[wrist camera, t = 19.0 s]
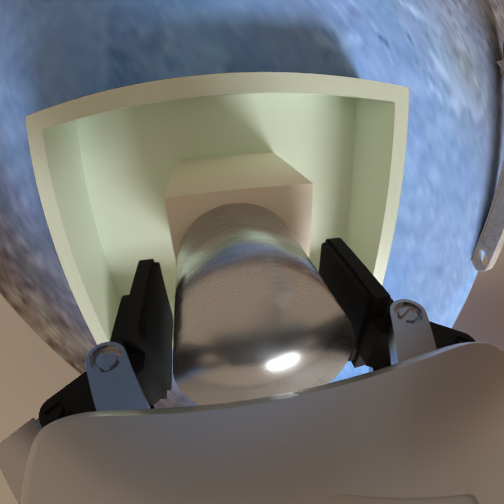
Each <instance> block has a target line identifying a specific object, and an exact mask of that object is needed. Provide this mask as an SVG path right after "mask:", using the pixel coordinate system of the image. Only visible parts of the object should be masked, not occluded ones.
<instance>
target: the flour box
mask: <svg viewBox="0 0 504 504" xmlns="http://www.w3.org/2000/svg"><path fill="white" fill-rule="evenodd" d="M164 199H165V205H166V211H167V217H168V223H169V228H170V234H171V239H172V245H173V250H174V255H175V260H176V265H177V257H178V250H179V245H180V242H181V240H182V238H183V236H184V234H185V232H186V231H187V229H188V228H189V227H190V225H191V224H192V223H193V222H194V221H195V220H196V219H198V218H199V217H200V216H201V215H203V214H204V213H206V212H208V211H210V210H212V209H214V208H216V207H219V206H223V205H227V204H233V203H247V204H254V205H258V206H261V207H264V208H266V209H268V210H270V211H272V212H273V213H275V214H276V215H277V216H279V217H280V218H281V219H282V220H283V221H284V222H285V224H286V225H287V227H288V228H289V229H290V231H291V232H292V234H293V235H294V237H295V238H296V240H297V241H298V243H299V244H300V245H301V247H302V248H303V250H304V251H305V253H306V254H307V256H308V257H309V254H310V239H311V221H312V200H313V183H312V182H311V181H309V180H308V179H307V178H306V177H304V176H303V175H302V174H301V173H299V172H298V171H297V170H296V169H294V168H293V167H292V166H291V165H289V164H288V163H287V162H285V161H284V160H283V159H281V158H280V157H279V156H278V155H276V154H275V153H274V152H270V153H253V154H240V155H228V156H218V157H208V158H199V159H191V160H183V161H177V163H176V166H175V168H174V171H173V174H172V177H171V180H170V183H169V186H168V189H167V192H166V195H165V198H164Z"/></svg>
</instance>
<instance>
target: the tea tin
mask: <svg viewBox="0 0 504 504" xmlns="http://www.w3.org/2000/svg"><path fill="white" fill-rule="evenodd" d="M353 344H354V332H353V328H352V325H351V323H350V321H349V319H348V317H347V316H346V314H345V313H344V311H343V309H342V308H341V306H340V305H339V303H338V302H337V300H336V299H335V297H334V295H333V294H332V292H331V291H330V289H329V288H328V286H327V285H326V283H325V282H324V280H323V278H322V277H321V275H320V274H319V272H318V271H317V269H316V268H315V266H314V265H313V263H312V262H311V260H310V259H309V257H308V256H307V254H306V253H305V251H304V250H303V248H302V247H301V245H300V244H299V243H298V241H297V240H296V238H295V237H294V235H293V234H292V232H291V231H290V229H289V228H288V227H287V225H286V224H285V222H284V221H283V220H282V219H281V218H280V217H279V216H277V215H276V214H275V213H273V212H272V211H270V210H268V209H266V208H264V207H261V206H258V205H254V204H247V203H233V204H227V205H223V206H219V207H216V208H214V209H212V210H210V211H208V212H206V213H204V214H203V215H201V216H200V217H199V218H198V219H196V220H195V221H194V222H193V223H192V224H191V225H190V227H189V228H188V229H187V231H186V232H185V234H184V236H183V238H182V240H181V242H180V245H179V250H178V257H177V271H176V287H175V305H174V331H173V374H174V378H175V381H176V383H177V385H178V387H179V388H180V390H181V391H182V392H183V393H184V394H185V395H186V396H187V397H188V398H189V399H191V400H192V401H194V402H195V403H197V404H199V405H210V404H219V403H228V402H235V401H242V400H249V399H255V398H261V397H267V396H273V395H278V394H284V393H289V392H294V391H298V390H303V389H308V388H312V387H316V386H321V385H325V384H329V383H330V382H331V381H332V380H333V379H334V378H335V377H336V376H337V375H338V374H339V372H340V371H341V370H342V369H343V367H344V366H345V364H346V363H347V361H348V359H349V357H350V355H351V352H352V349H353Z"/></svg>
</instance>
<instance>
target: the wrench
mask: <svg viewBox="0 0 504 504" xmlns="http://www.w3.org/2000/svg"><path fill="white" fill-rule="evenodd" d="M496 62H497V64H498V65H499V67H500V74H501V76H502V77H504V43H503V60H501V61H496ZM503 243H504V162H503V166H502V170H501V174H500V177H499V181H498V184H497V188H496V191H495V195H494V198H493V201H492V204H491V208H490V211H489V214H488V216H487V219H486V222H485V225H484V227H483V230H482V232H481V235H480V237H479V240H478V242H477V245H476V248H475V251H474V254H473V258H472V263H473V265H474V267H475V269H476V270H477V271H480V272H483V271H486V270H489V269H491V268H492V267H493V266H494V264H495V262H496V260H497V257H498V255H499V253H500V251H501V249H502V246H503ZM482 250H483V251H485V253H486V254H487V257H488V263H487V266H486V267H485V266H484V265H483V264H482V262H481V251H482Z"/></svg>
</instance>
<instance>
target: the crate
mask: <svg viewBox="0 0 504 504" xmlns="http://www.w3.org/2000/svg"><path fill="white" fill-rule="evenodd" d="M408 108H409V88H408V87H403V86H398V85H393V84H388V83H383V82H377V81H371V80H365V79H358V78H351V77H343V76H333V75H323V74H310V73H291V72H238V73H219V74H205V75H195V76H186V77H177V78H170V79H163V80H157V81H151V82H145V83H139V84H134V85H129V86H124V87H120V88H115V89H111V90H107V91H103V92H99V93H95V94H91V95H88V96H84V97H80V98H77V99H74V100H70V101H67V102H64V103H61V104H58V105H55V106H52V107H49V108H46V109H44V110H41V111H38V112H36V113H33V114H30V115H28V116H25V120H26V128H27V135H28V142H29V148H30V153H31V159H32V164H33V169H34V174H35V178H36V183H37V187H38V191H39V195H40V199H41V203H42V207H43V210H44V214H45V217H46V221H47V224H48V227H49V230H50V234H51V237H52V240H53V243H54V246H55V249H56V251H57V254H58V257H59V260H60V262H61V265H62V268H63V270H64V273H65V275H66V278H67V280H68V283H69V285H70V288H71V290H72V292H73V295H74V297H75V299H76V302H77V304H78V306H79V308H80V310H81V313H82V315H83V317H84V319H85V321H86V323H87V325H88V327H89V329H90V331H91V333H92V335H93V337H94V339H95V341H96V343H97V345H98V344H100V343H104V342H110V339H111V335H112V331H113V327H114V323H115V319H116V316H117V312H118V308H119V305H120V301H121V298H122V296H123V295H129V294H130V290H131V286H132V283H133V279H134V276H135V272H136V269H137V265H138V262H139V260H147V259H154V261H155V262H159V263H160V267H161V271H162V275H163V280H164V284H165V288H166V292H167V296H168V300H169V303H170V307H171V311H172V315H173V331H174V305H175V287H176V271H177V265H176V260H175V255H174V250H173V245H172V239H171V234H170V228H169V223H168V217H167V211H166V205H165V199H164V198H165V195H166V192H167V189H168V186H169V183H170V180H171V177H172V174H173V171H174V168H175V166H176V163H177V161H183V160H191V159H199V158H208V157H218V156H228V155H240V154H253V153H270V152H274V153H275V154H276V155H278V156H279V157H280V158H281V159H283V160H284V161H285V162H287V163H288V164H289V165H291V166H292V167H293V168H294V169H296V170H297V171H298V172H299V173H301V174H302V175H303V176H304V177H306V178H307V179H308V180H309V181H311V182H312V183H313V200H312V221H311V239H310V254H309V259H310V260H311V262H312V263H313V265H314V266H315V268H316V269H317V271H318V272H319V264H320V254H321V245H322V243H325V241H326V239H330V238H341V239H342V240H343V241H344V242H345V243H346V244H347V245H348V247H349V248H350V249H351V250H352V251H353V252H354V253H355V255H356V256H357V257H358V258H359V259H360V260H361V261H362V263H363V264H364V265H365V266H366V267H367V268H368V270H369V271H370V272H371V273H372V274H373V275H374V277H375V278H376V279H377V280H378V281H379V283H380V284H381V285H382V284H383V280H384V276H385V272H386V267H387V263H388V259H389V254H390V249H391V245H392V240H393V235H394V230H395V224H396V219H397V213H398V207H399V201H400V194H401V187H402V179H403V171H404V163H405V153H406V142H407V128H408ZM172 349H173V343H172Z"/></svg>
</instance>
